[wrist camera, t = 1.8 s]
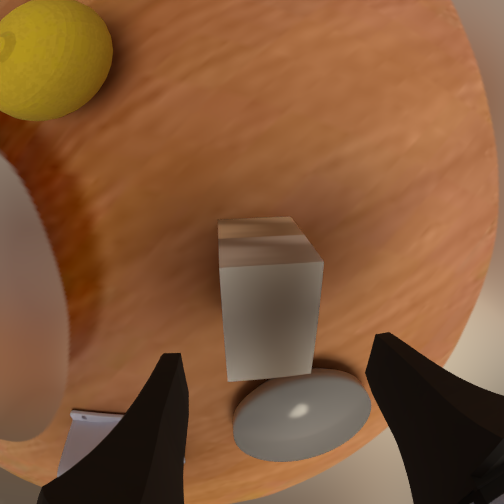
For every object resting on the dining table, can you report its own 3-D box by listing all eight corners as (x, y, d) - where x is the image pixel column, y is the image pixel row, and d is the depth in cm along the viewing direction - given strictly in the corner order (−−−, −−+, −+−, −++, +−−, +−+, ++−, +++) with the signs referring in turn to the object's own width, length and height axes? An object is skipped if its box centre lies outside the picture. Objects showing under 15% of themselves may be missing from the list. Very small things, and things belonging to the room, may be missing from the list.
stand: (235, 445, 26) (237, 467, 23) (227, 365, 21) (229, 391, 19) (347, 429, 27) (354, 449, 24) (373, 348, 22) (386, 369, 20)
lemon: (26, 88, 13) (-69, 87, 5) (84, 9, 11) (10, -42, 4) (88, 138, 15) (0, 158, 7) (152, 54, 13) (101, 5, 6)
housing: (223, 312, 20) (227, 381, 14) (217, 219, 17) (219, 267, 12) (286, 307, 20) (310, 373, 15) (290, 216, 18) (323, 261, 12)
